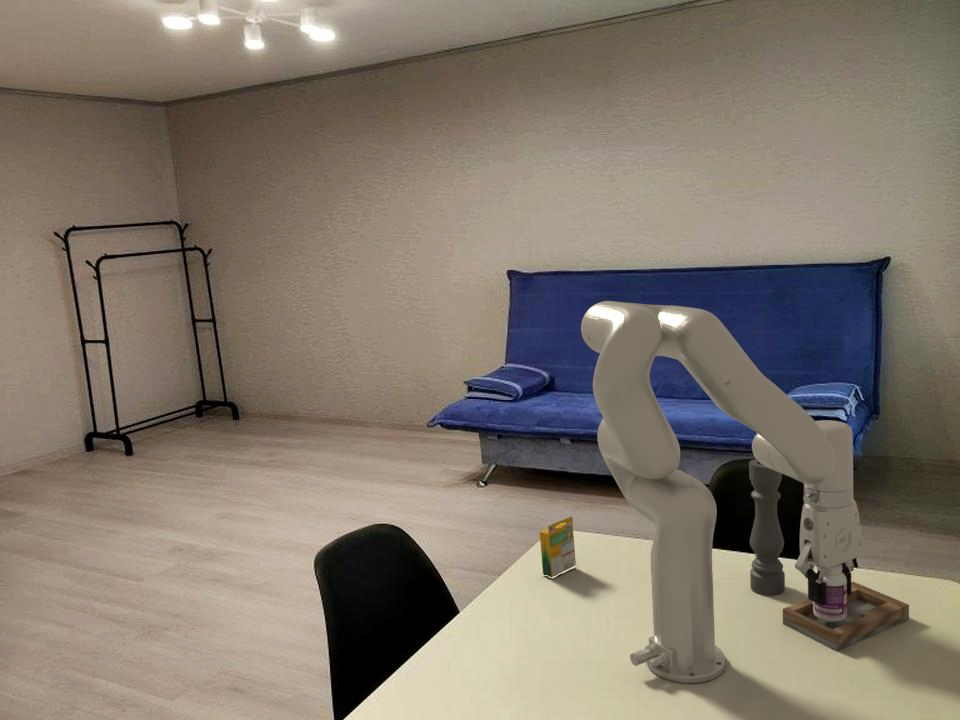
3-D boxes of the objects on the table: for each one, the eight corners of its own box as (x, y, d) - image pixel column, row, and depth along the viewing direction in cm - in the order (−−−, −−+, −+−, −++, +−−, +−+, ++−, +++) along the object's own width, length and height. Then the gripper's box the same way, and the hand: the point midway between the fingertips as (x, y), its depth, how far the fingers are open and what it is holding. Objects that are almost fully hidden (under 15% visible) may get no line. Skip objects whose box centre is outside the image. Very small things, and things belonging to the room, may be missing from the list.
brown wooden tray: (836, 651, 128) (836, 635, 127) (782, 623, 138) (782, 608, 137) (908, 619, 136) (909, 604, 135) (853, 595, 145) (853, 581, 145)
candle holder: (779, 598, 147) (777, 469, 143) (746, 591, 150) (742, 465, 146) (789, 585, 151) (787, 460, 147) (756, 579, 155) (754, 456, 151)
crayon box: (566, 564, 169) (563, 512, 167) (576, 568, 166) (573, 516, 165) (542, 575, 164) (538, 522, 162) (552, 579, 162) (548, 526, 160)
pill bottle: (853, 621, 132) (852, 567, 130) (820, 624, 132) (819, 570, 130) (839, 606, 137) (838, 554, 136) (808, 608, 137) (807, 556, 136)
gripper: (810, 513, 124) (812, 620, 127) (883, 489, 131) (883, 591, 134) (773, 500, 131) (776, 602, 134) (844, 478, 138) (845, 575, 141)
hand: (829, 596), depth 134 cm, fingers closed on pill bottle, 5 cm apart
